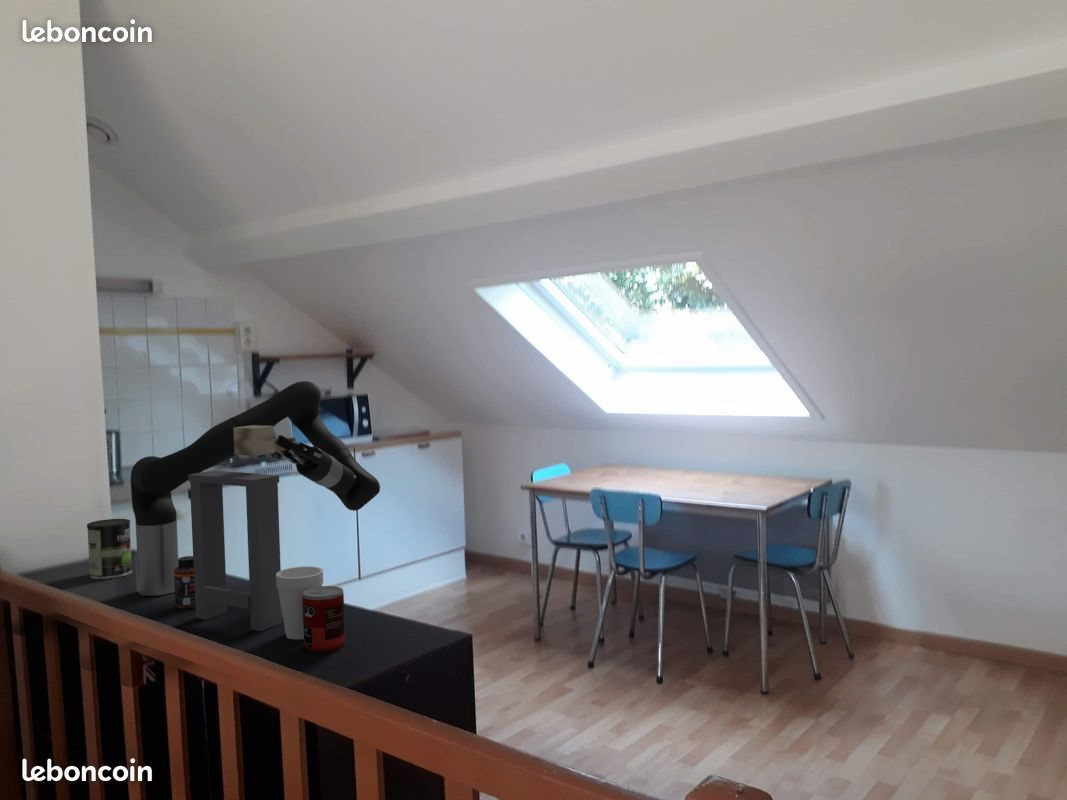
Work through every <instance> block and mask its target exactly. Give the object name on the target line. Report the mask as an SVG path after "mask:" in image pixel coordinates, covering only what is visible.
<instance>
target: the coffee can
mask: <svg viewBox="0 0 1067 800" xmlns="http://www.w3.org/2000/svg"><path fill="white" fill-rule="evenodd" d="M86 528H87V540H88V541H87V545H88V546H87V548H88V563H89V565H88V567H89V578H90V579H92V580H108V579H109V580H111V579H110V578H112V579H118V578H122V576H123V577H126V576H129V575H130V574H132V573H133V569H132V568H133V564H132V549H131V548H132V545H131V520H130V519H127V518H109V519H100V520H95V521H91V522H88V523H87V524H86ZM117 577H118V578H117Z"/></svg>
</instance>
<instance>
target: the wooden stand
mask: <svg viewBox="0 0 1067 800" xmlns="http://www.w3.org/2000/svg"><path fill="white" fill-rule="evenodd" d="M187 482H189V483H190V501H191V502H190V503H191V504H190V505H191V507H190V508H191V529H192V530H191V531H192V549H193V550H192V552H193V554H192V556H193V557H194V581H195V606H196V607H195V619H198V620H204V621H207V620H209V619H212V618H216V617H218V616H221V615H223V614H226V613H228V606H230V607H237V608H242V609H248V610H249V611H250V630H254V631H258V632H264V631H265V630H268V629H272V628H274V627H276V626H279V625H281V624H284V622H283V616H282V610H281V604H280V598H279V592H278V587H277V586H276V573H277V572H279V571H281V570H282V569H281V566H282V565H281V543H280V518H279V515H280V514H279V510H280V507H279V483H280V475H277V474H265V473H254V472H253V473H251V472H242V471H241V472H240V471H226V470H208V471H202V472H201V473H195V474H189V475H188V481H187ZM224 485H225V486H233V487H234V486H235V487H236V486H237V487H245V497H246V499H245V501H246V529H247V530H246V531H247V554H248V555H247V556H248V559H247V560H248V581H249V582H248V583H249V585H248V586H249V592H247V591H246V592H245V591H240V590H234V589H229V588H227V572H226V571H227V570H226V548H225V547H226V546H225V545H226V544H225V523H224V522H225V519H224V497H223V496H224V495H223V494H224V493H223V486H224Z"/></svg>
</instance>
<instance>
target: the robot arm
mask: <svg viewBox="0 0 1067 800" xmlns="http://www.w3.org/2000/svg"><path fill="white" fill-rule="evenodd" d="M320 407H321V390H320V388H319V387H318V385H317V384H316V383H314V382H312V381H309V380H308V381H307V380H305V381H304V380H302V381H297V382H294V383H292V384H290V385H288V386H286V387H285V388H283V389H281V391H278V392H277V393H276V394H274V395H273V396H271V397H269V398H268V399H266V400H264V401H262V402H261V403H258V404H257V405H254V406H252V407H250V408H249V409H246V410H244V411H242V412H241V413H239V414H236V415H234V416H232V417H230V418H228V419H226V420H224V421H222V422H220V423H217V424H216V425H215V426H212V427H211V428H210V429H208V430H207V431H205V432H204V433H203V434H201V436H199V438H198V439H196V440H195V441H194V442H193V443H191V444H189V445H187V446H186V447H184V448H182V449H179V450H178V451H175V452H173V453H171V454H168V455H165V456H163V457H159V456H156V455H155V456H153V455H150V456H145V457H142V458H140V459H139V460H137V461H136V462H135V464H133V467H132V468H131V473H130V493H131V505H132V512H133V515H134V518H135V535H136V536H135V537H136V538H135V539H136V541H135V542H136V553H135V554H134V565H135V586H136V587H135V590H136V592H138V595H140V596H144V595H145V596H144V597H147V596H148V597H150V596H151V597H154V596H164V595H168V594H173V593H175V585H174V570H175V569H176V568H177V567H178V565H179V564H178V559H179V543H178V541H179V540H178V523H177V522H178V520H177V519H178V518H177V510H176V508H175V506H174V502H173V499H172V492H174V490H176V489H178V487H180V486H181V485H184V484H185V483H186V482H189V481H188V475H189V474H195V473H201V472H205V471H206V470H209V469H210V468H214V467H215V466H217V465H219V464H222V463H223V462H225V461H227V460H230V459H232V458H234V457H237V455H235V454H234V429H233V428H235V427H244V426H253V425H259V426H274V427H275V426H276V425H277V424H278V423H280V422H281V421H283V420H286V419H287V418H288V420H290V422H291V423H292V424H293V425H294V426H295V427H296V428H297V430H299V431H300V433H301V434H303V436H304V437H305V438H306V439H307V440H308V442H309V443H310V444H311V445H312V446H310V445H308V444H305V443H303V442H295V441H290V440H289V439H287V438H286V436H284V435H277V437H275V436H274V439H277V442H276V443H277V445H279V446H281V447H282V448H284V449H286V450H283V451H276V452H275V453H272V454H273V456H275V457H276V458H277V459H278V460H282V459H283V458H284V459H286V460H288V462H290V463H291V464H294V465H295V468H296V471H297V472H298V474H300V475H301V476H303V477H304V478H305V479H308V480H309V481H311V482H312V483H315V484H316V485H319V486H321V487H323V488H325V489H327V490H329V491H330V492H332V493H334V494H335V495H336V496H337V498H338V500H340V501H341V503H342V504H343V506H344V507H345V508H347V509H348V510H350V511H353V512H354V511H356V512H357V511H359V510H361V509H362V508H363V507H365V505H368V503H369V502H370V501H372V500H373V499H375V497H377V496H378V494H379V493H380V492H381V485H380V482H379V480H378V479H377V478H376V477H375V476H374V475H373V474H371V473H370V472H369V471H367V469H365V468H364V467H362V466H361V464H359V462H358V461H357V460H356V458H355V457H354V456H353V454H352V453H351V451H350V449H349V448H348V447H347V445H346V444H345V443H344V442H343V441H342V439H340V438H339V437H338V436H336V435H335V434H334V433H332V432H331V431H330V430H329V429H328V428H327V426H326V425H325V423H324V421H323V418H322V416H321V413H320Z"/></svg>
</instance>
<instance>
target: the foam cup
mask: <svg viewBox="0 0 1067 800" xmlns="http://www.w3.org/2000/svg"><path fill="white" fill-rule="evenodd" d="M323 584H324V569H323V568H321V567H319V566H308V565H307V566H305V565H304V566H295V567H294V566H293V567H289V568H285V569H284V568H283V569H281V571H279V572H277V573H276V586H277V587H278V592H279V598H280V604H281V610H282V622H283V625H284V626H283V627H284V634H285V636H286V638H287V639H289V640H304V629H303V603H302V595H303V592H304V591H305V590H307V589H310V588H314V587H320V586H323Z"/></svg>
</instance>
